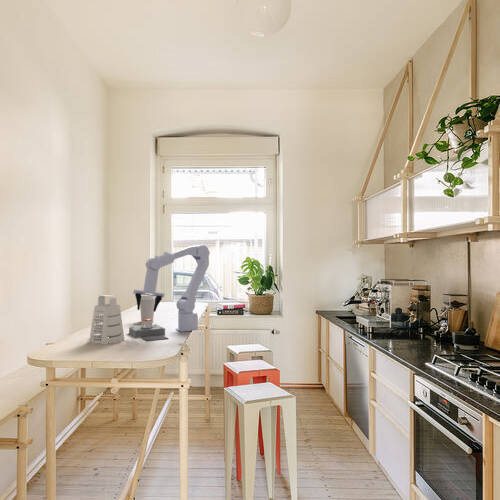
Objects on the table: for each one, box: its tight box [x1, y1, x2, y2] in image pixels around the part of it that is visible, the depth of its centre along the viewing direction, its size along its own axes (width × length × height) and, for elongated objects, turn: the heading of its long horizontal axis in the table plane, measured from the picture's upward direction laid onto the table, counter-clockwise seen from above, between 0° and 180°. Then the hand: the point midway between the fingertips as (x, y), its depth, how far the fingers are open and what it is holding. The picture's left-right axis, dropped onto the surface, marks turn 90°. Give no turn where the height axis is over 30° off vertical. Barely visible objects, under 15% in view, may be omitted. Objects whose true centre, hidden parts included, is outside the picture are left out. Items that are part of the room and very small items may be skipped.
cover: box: [141, 319, 153, 329], centre depth 202 cm, size 5×5×7 cm
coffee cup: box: [139, 294, 156, 323], centre depth 240 cm, size 10×10×15 cm
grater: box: [88, 294, 125, 345], centre depth 185 cm, size 10×10×20 cm
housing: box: [128, 323, 166, 338], centre depth 202 cm, size 14×12×3 cm
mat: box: [140, 335, 169, 342], centre depth 191 cm, size 10×10×1 cm
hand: (146, 310), depth 202 cm, fingers open, 7 cm apart
